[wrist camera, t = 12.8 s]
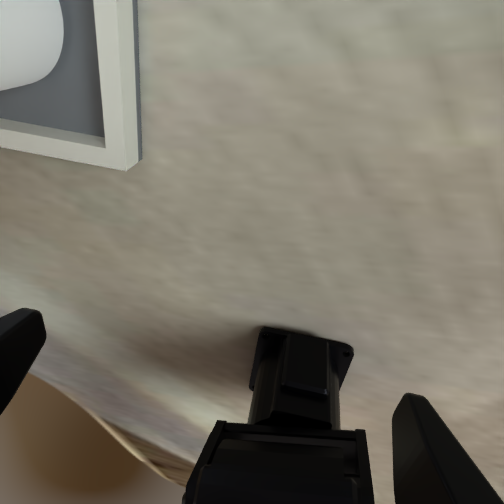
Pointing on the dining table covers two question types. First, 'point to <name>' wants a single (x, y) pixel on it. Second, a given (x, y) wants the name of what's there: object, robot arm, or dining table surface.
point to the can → (29, 40)
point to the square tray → (83, 91)
